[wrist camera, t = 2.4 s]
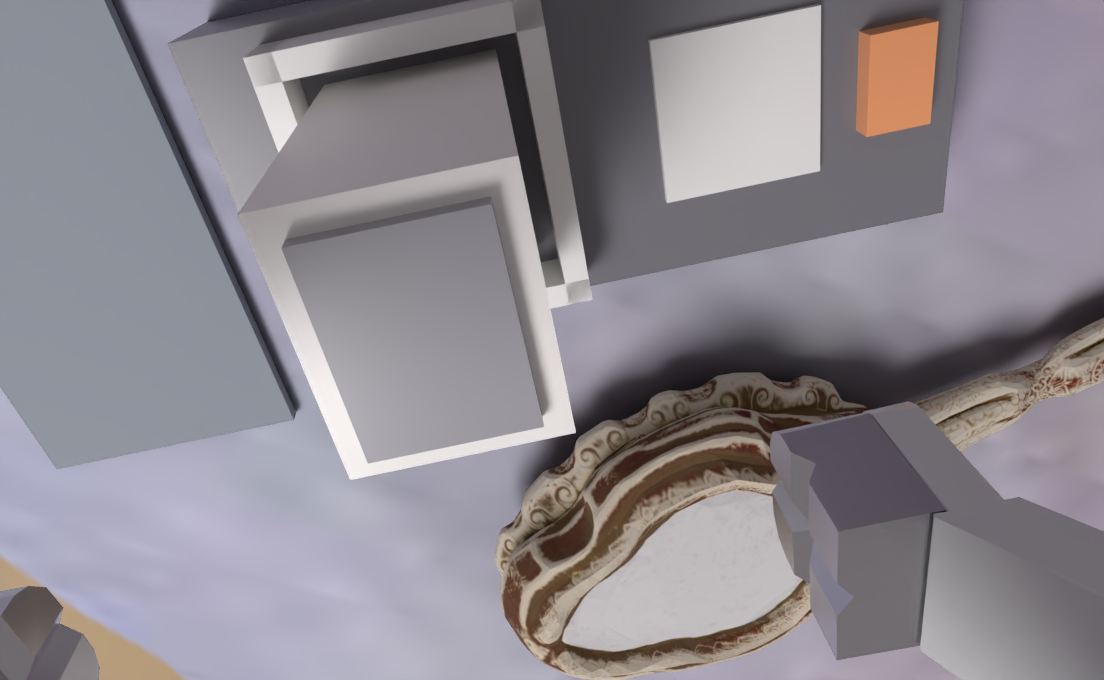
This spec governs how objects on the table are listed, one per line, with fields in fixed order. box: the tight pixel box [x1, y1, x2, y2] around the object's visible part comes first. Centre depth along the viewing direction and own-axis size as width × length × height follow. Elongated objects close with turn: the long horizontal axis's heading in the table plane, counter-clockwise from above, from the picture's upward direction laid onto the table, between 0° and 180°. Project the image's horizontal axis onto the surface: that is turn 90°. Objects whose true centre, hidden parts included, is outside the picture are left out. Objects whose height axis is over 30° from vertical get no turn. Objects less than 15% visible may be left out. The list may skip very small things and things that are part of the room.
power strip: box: [168, 0, 963, 309], centre depth 19 cm, size 8×18×4 cm, turn 100°
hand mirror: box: [494, 318, 1104, 680], centre depth 26 cm, size 11×6×30 cm
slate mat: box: [0, 0, 296, 469], centre depth 21 cm, size 16×8×1 cm, turn 10°
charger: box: [237, 49, 576, 480], centre depth 15 cm, size 5×4×8 cm
